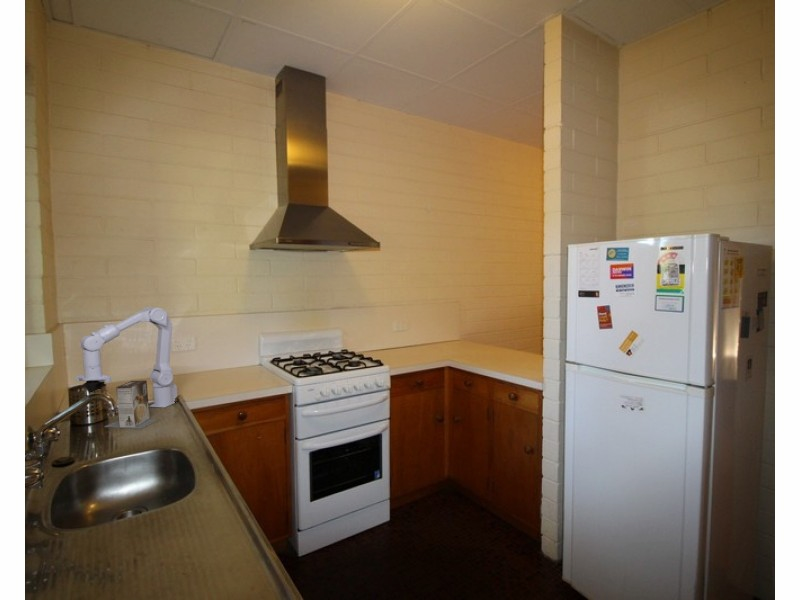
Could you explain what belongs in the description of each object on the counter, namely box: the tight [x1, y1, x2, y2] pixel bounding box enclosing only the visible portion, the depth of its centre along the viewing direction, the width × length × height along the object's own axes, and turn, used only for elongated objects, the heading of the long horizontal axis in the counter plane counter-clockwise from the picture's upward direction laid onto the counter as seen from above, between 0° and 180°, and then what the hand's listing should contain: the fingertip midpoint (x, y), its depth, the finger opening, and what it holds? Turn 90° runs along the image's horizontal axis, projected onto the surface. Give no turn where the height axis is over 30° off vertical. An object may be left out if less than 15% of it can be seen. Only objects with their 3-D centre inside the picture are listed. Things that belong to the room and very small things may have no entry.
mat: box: [104, 418, 159, 430], centre depth 163 cm, size 9×16×1 cm, turn 80°
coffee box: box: [116, 379, 151, 427], centre depth 162 cm, size 9×6×16 cm
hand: (95, 399), depth 165 cm, fingers closed
